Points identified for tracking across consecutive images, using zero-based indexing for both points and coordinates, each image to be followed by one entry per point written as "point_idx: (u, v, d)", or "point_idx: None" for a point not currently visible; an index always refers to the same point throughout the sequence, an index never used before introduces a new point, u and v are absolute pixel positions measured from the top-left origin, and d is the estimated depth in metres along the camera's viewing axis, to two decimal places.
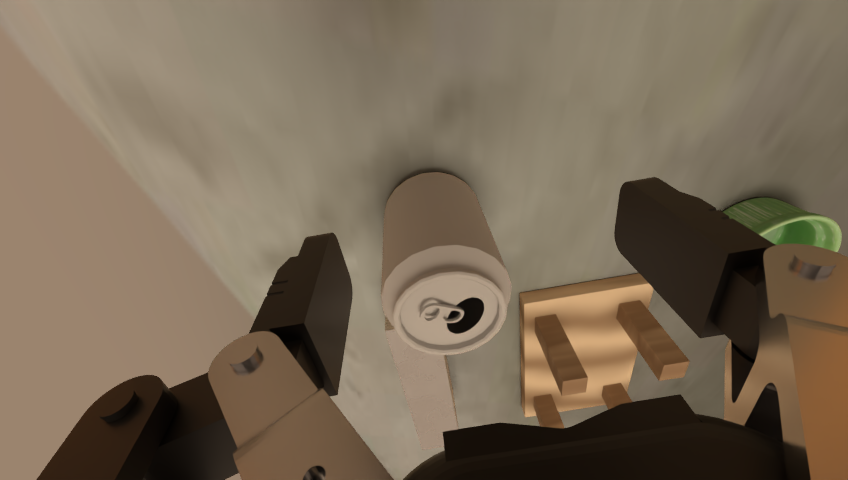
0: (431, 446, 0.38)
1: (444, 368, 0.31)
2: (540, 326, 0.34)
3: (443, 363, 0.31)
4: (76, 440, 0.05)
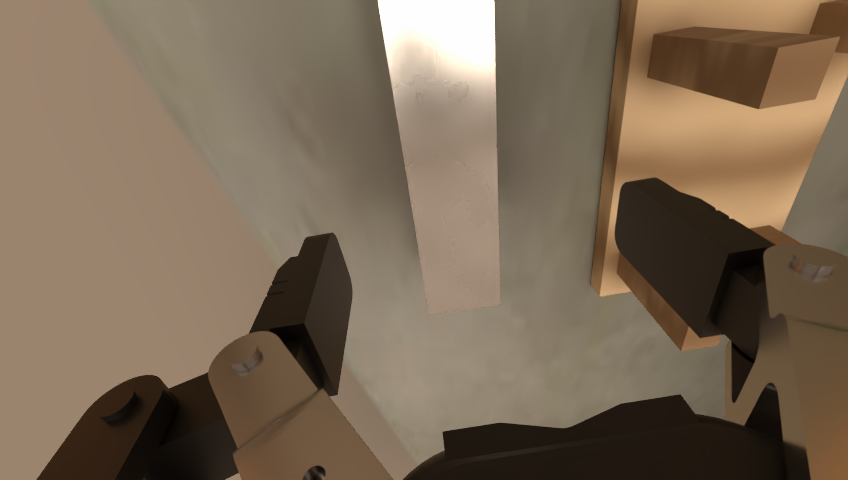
0: (446, 307, 0.20)
1: (491, 59, 0.14)
2: (672, 35, 0.17)
3: (491, 40, 0.14)
4: (76, 440, 0.05)
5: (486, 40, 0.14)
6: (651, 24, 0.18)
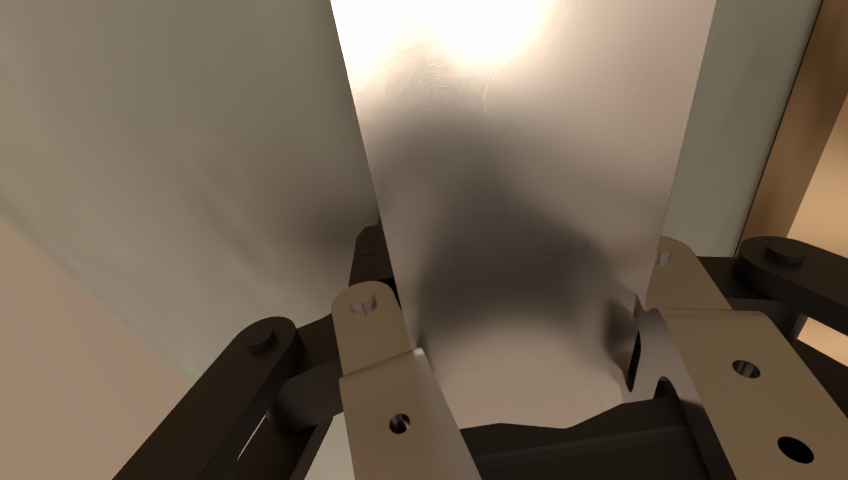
0: None
1: (667, 164, 0.05)
2: None
3: (678, 112, 0.05)
4: (227, 358, 0.06)
5: (665, 114, 0.04)
6: None
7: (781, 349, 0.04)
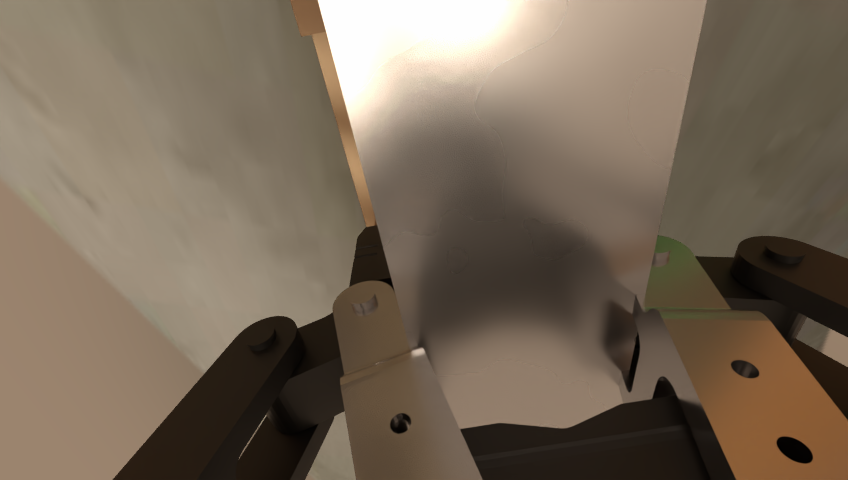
0: None
1: (662, 164, 0.05)
2: None
3: (672, 113, 0.05)
4: (228, 358, 0.06)
5: (659, 115, 0.04)
6: None
7: (779, 349, 0.04)
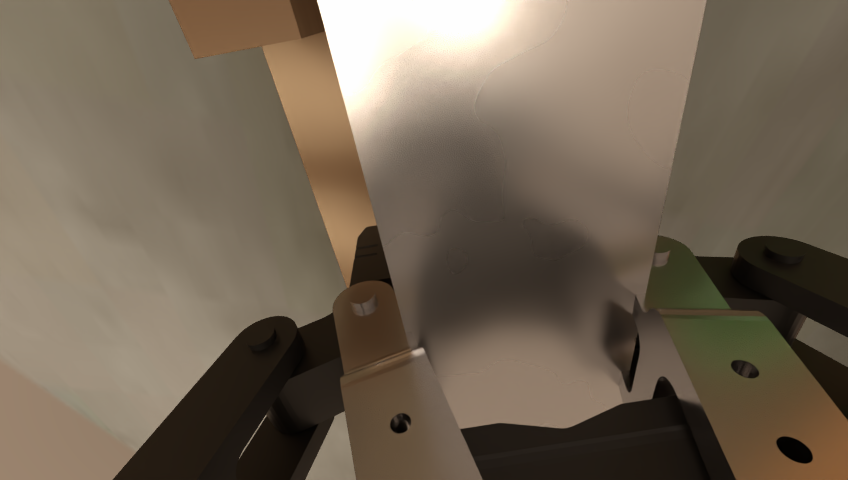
0: None
1: (662, 164, 0.05)
2: None
3: (671, 113, 0.05)
4: (228, 358, 0.06)
5: (658, 115, 0.04)
6: None
7: (779, 349, 0.04)
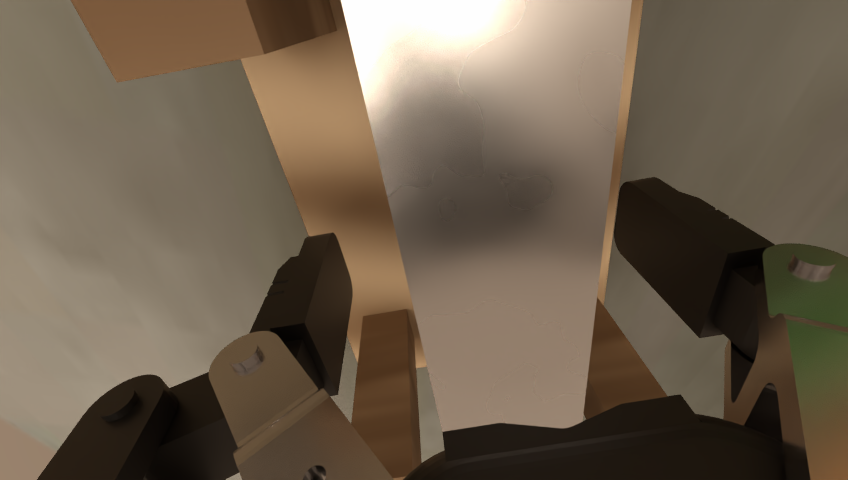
0: None
1: (608, 128, 0.06)
2: None
3: (612, 86, 0.06)
4: (77, 439, 0.05)
5: (602, 88, 0.06)
6: None
7: None
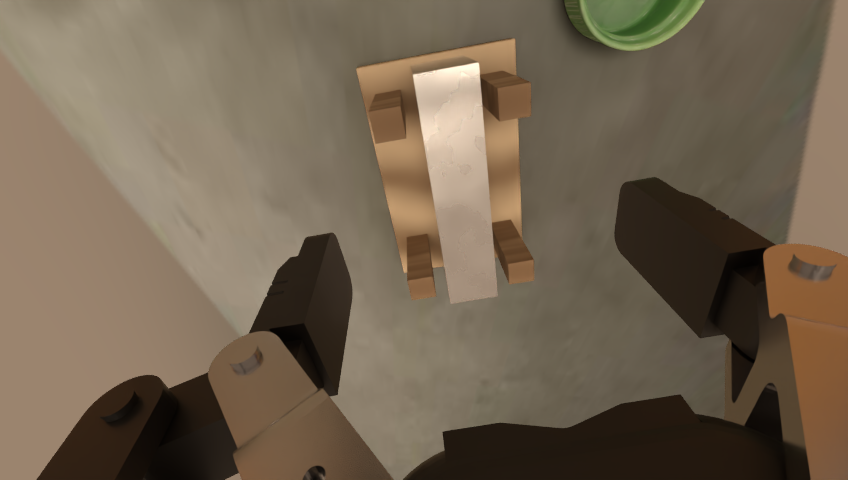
0: (461, 298, 0.31)
1: (483, 152, 0.25)
2: (376, 96, 0.28)
3: (483, 143, 0.24)
4: (76, 440, 0.05)
5: (480, 143, 0.24)
6: (371, 88, 0.29)
7: None
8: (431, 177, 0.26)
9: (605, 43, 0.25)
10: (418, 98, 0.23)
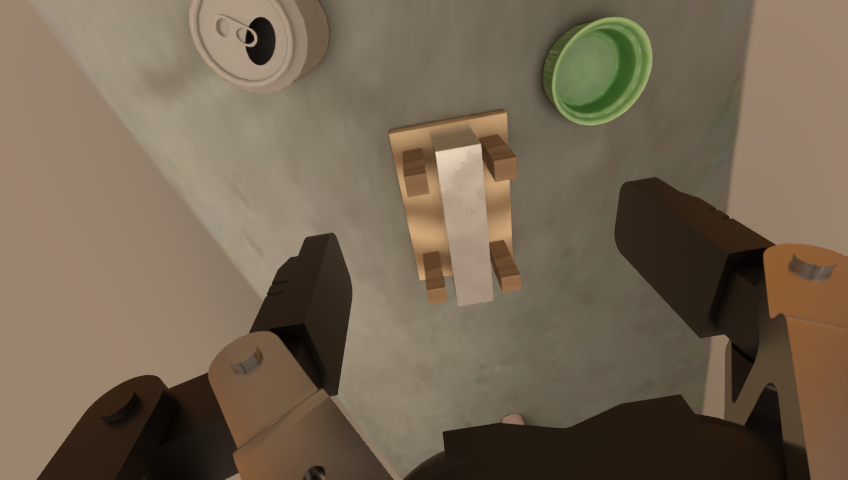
0: (466, 302, 0.41)
1: (484, 201, 0.35)
2: (404, 154, 0.37)
3: (483, 195, 0.34)
4: (76, 440, 0.05)
5: (481, 195, 0.34)
6: (399, 147, 0.38)
7: None
8: (446, 218, 0.35)
9: (571, 120, 0.35)
10: (438, 166, 0.33)
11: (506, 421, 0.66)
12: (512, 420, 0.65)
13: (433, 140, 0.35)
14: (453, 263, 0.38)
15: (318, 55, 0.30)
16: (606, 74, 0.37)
